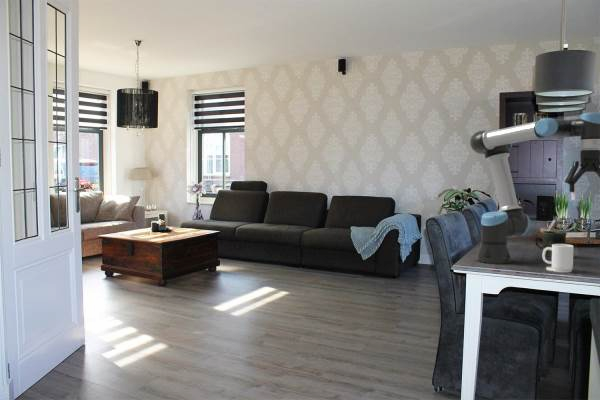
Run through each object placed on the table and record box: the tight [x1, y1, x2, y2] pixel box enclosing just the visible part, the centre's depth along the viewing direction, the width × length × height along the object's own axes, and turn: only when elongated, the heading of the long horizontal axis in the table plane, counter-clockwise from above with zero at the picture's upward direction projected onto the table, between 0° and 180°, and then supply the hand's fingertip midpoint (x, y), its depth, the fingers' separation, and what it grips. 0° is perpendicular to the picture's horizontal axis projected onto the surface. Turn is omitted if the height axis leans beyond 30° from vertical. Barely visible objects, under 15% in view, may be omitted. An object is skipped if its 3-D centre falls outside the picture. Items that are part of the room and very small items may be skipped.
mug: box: [534, 230, 568, 258], centre depth 258 cm, size 11×15×12 cm
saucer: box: [545, 265, 573, 274], centre depth 221 cm, size 10×10×1 cm
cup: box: [541, 243, 574, 271], centre depth 221 cm, size 8×12×10 cm
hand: (589, 199), depth 216 cm, fingers open, 13 cm apart
